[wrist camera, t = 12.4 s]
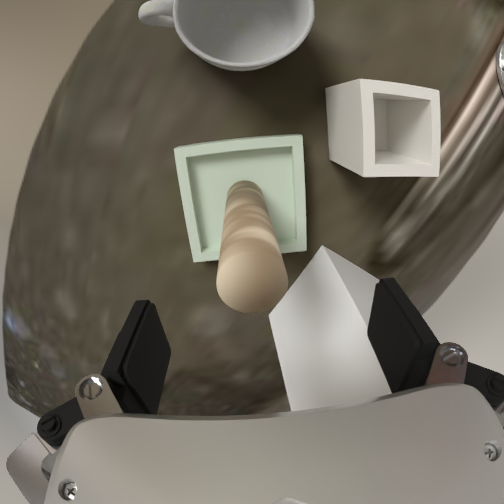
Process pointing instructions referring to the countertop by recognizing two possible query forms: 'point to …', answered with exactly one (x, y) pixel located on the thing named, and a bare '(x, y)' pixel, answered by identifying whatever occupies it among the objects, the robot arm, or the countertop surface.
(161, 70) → the countertop surface
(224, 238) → the dowel
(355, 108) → the open box
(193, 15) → the teacup
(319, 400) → the milk
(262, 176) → the tray
